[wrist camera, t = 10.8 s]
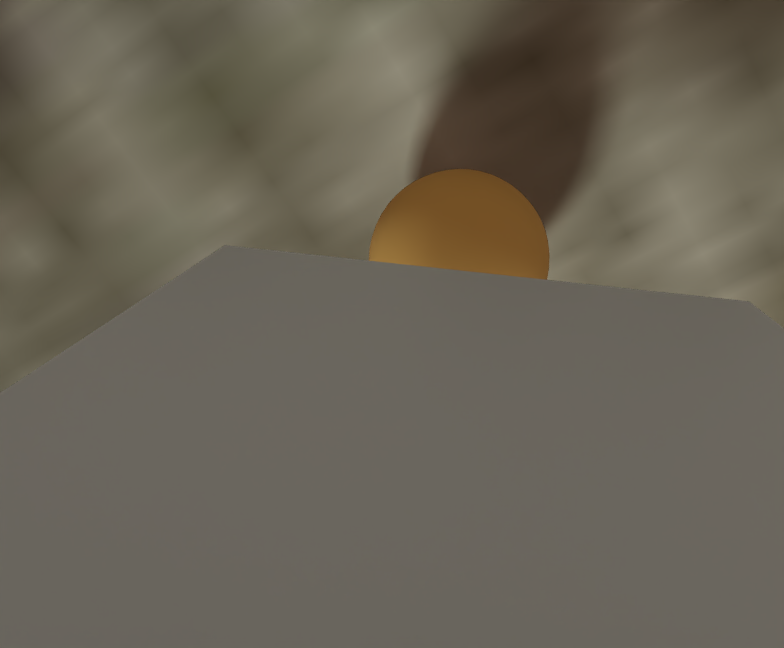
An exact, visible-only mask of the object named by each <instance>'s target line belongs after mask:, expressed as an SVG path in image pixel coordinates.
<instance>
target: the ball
mask: <svg viewBox="0 0 784 648" xmlns="http://www.w3.org/2000/svg"><path fill="white" fill-rule="evenodd" d="M369 261H377V262H386V263H395V264H405V265H414V266H423V267H432V268H442V269H451V270H460V271H470V272H479V273H488V274H498V275H507V276H516V277H526V278H535V279H544V280H547V276H548V270H549V247H548V240H547V236H546V232H545V229H544V226H543V224H542V221H541V219H540V217H539V215H538V214H537V212H536V210H535V209H534V207H533V206H532V205H531V203H530V202H529V201H528V200H527V198H526V197H525V196H524V195H523V194H522V193H521V192H520V191H518V190H517V189H516V188H515V187H513V186H512V185H511V184H509V183H507V182H506V181H504V180H502V179H501V178H498V177H496V176H494V175H492V174H489V173H485V172H482V171H477V170H470V169H451V170H444V171H440V172H435V173H432V174H430V175H427V176H424V177H422V178H420V179H418V180H416V181H414V182H413V183H411V184H410V185H408V186H407V187H405V188H404V189H403V190H402V191H401V192H399V193H398V194H397V195H396V196H395V197H394V198H393V199H392V201H391V202H390V203H389V204H388V205H387V207H386V208H385V210H384V211H383V213H382V214H381V216H380V218H379V220H378V222H377V224H376V227H375V230H374V233H373V236H372V240H371V245H370V252H369Z"/></svg>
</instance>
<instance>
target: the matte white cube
mask: <svg viewBox="0 0 784 648" xmlns="http://www.w3.org/2000/svg"><path fill="white" fill-rule="evenodd" d="M0 648H784V328H783V327H782V326H780V325H779V324H778V323H776V322H775V321H774V320H773V319H771V318H770V317H769V316H767V315H766V314H765V313H763V312H762V311H761V310H759V309H758V308H757V307H756V306H754V305H753V304H752V303H750V302H749V301H740V300H731V299H722V298H712V297H703V296H694V295H684V294H675V293H666V292H656V291H647V290H638V289H628V288H619V287H610V286H600V285H591V284H582V283H572V282H563V281H554V280H544V279H535V278H526V277H516V276H507V275H498V274H488V273H479V272H470V271H460V270H451V269H442V268H432V267H423V266H414V265H405V264H395V263H386V262H377V261H367V260H358V259H349V258H339V257H330V256H321V255H311V254H302V253H293V252H283V251H274V250H265V249H255V248H246V247H237V246H227V245H224V246H223V247H221V248H220V249H218V250H217V251H215V252H214V253H212V254H211V255H209V256H208V257H206V258H205V259H203V260H202V261H200V262H199V263H197V264H195V265H194V266H192V267H191V268H189V269H188V270H186V271H185V272H183V273H182V274H180V275H179V276H177V277H176V278H174V279H173V280H171V281H170V282H168V283H167V284H165V285H164V286H162V287H160V288H159V289H157V290H156V291H154V292H153V293H151V294H150V295H148V296H147V297H145V298H144V299H142V300H141V301H139V302H138V303H136V304H135V305H133V306H132V307H130V308H129V309H127V310H125V311H124V312H122V313H121V314H119V315H118V316H116V317H115V318H113V319H112V320H110V321H109V322H107V323H106V324H104V325H103V326H101V327H100V328H98V329H97V330H95V331H94V332H92V333H90V334H89V335H87V336H86V337H84V338H83V339H81V340H80V341H78V342H77V343H75V344H74V345H72V346H71V347H69V348H68V349H66V350H65V351H63V352H62V353H60V354H59V355H57V356H55V357H54V358H52V359H51V360H49V361H48V362H46V363H45V364H43V365H42V366H40V367H39V368H37V369H36V370H34V371H33V372H31V373H30V374H28V375H27V376H25V377H24V378H22V379H21V380H19V381H17V382H16V383H14V384H13V385H11V386H10V387H8V388H7V389H5V390H4V391H2V392H1V393H0Z"/></svg>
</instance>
